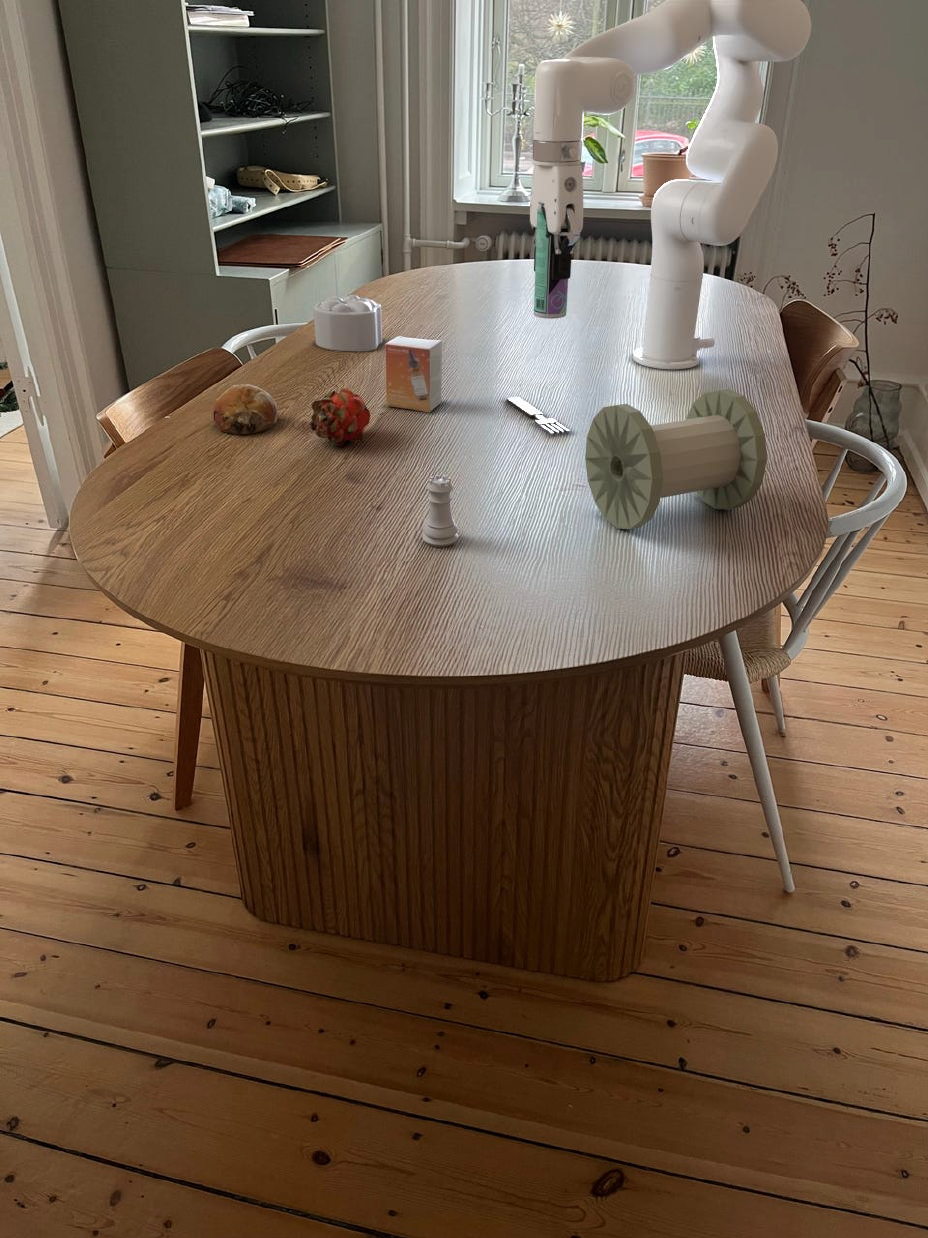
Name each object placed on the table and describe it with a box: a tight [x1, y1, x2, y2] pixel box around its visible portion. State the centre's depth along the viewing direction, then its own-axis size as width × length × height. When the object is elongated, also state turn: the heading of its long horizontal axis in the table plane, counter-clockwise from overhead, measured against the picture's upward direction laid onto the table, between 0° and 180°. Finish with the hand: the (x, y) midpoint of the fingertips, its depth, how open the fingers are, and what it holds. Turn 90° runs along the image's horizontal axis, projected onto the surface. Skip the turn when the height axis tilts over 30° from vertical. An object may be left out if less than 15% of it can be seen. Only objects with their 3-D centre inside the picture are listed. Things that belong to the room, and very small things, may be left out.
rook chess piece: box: [421, 474, 459, 548], centre depth 112 cm, size 4×4×8 cm
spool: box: [584, 388, 768, 530], centre depth 118 cm, size 16×15×15 cm
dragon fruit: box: [309, 387, 371, 447], centre depth 141 cm, size 8×8×12 cm
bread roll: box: [212, 383, 279, 435], centre depth 147 cm, size 10×10×8 cm
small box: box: [384, 335, 443, 413], centre depth 154 cm, size 8×6×10 cm
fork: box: [505, 396, 570, 437], centre depth 152 cm, size 17×3×1 cm, turn 24°
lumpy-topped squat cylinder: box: [313, 294, 383, 352], centre depth 186 cm, size 10×13×9 cm
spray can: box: [533, 200, 569, 320], centre depth 153 cm, size 6×6×20 cm
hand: (551, 273), depth 154 cm, fingers closed on spray can, 5 cm apart
